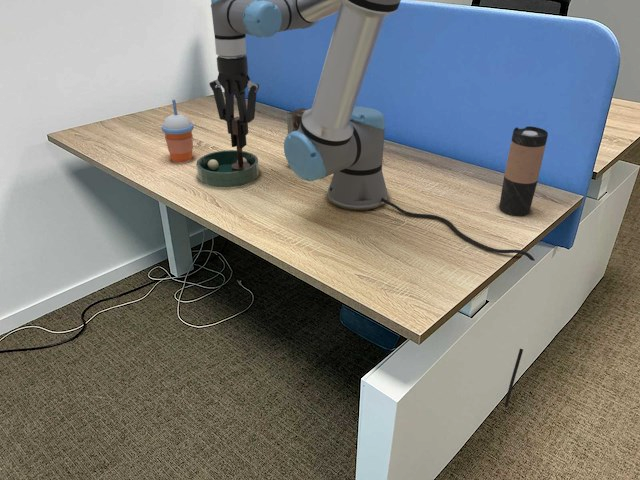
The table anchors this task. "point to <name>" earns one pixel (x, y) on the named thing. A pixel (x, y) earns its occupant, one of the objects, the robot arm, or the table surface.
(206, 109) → the table surface
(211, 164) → the dumpling
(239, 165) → the brown handled stamp
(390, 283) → the table surface
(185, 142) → the cup with straw
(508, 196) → the travel mug
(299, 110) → the coffee box
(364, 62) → the robot arm
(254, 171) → the bowl
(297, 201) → the table surface
